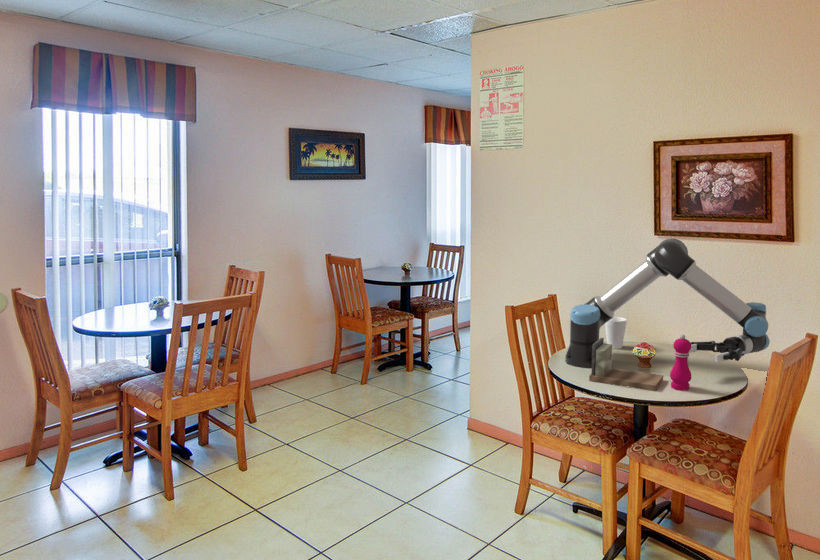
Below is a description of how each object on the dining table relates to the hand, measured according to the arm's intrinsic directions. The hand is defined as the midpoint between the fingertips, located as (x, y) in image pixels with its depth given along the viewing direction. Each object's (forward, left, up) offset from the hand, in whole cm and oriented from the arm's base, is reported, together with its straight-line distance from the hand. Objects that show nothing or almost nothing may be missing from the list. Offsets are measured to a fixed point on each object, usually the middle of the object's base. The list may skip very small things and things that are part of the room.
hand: (699, 354), depth 235 cm
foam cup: (-40, +37, -11) cm, 55 cm away
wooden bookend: (-24, -9, -11) cm, 28 cm away
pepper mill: (-5, -8, -11) cm, 15 cm away
